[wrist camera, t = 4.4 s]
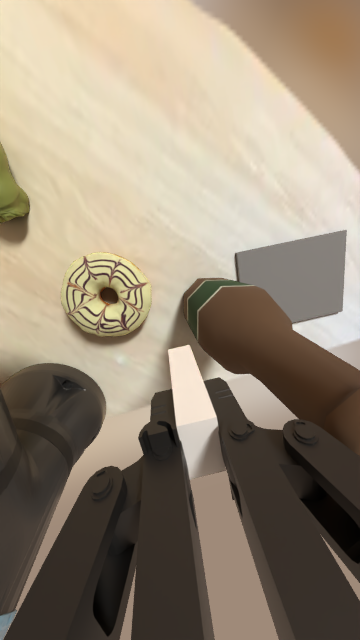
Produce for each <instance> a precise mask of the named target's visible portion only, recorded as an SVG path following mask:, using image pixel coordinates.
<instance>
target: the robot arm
mask: <svg viewBox="0 0 360 640" xmlns="http://www.w3.org/2000/svg"><path fill="white" fill-rule="evenodd" d="M168 354H169V363H170V373H171V382H172V389H170V390H166V391H162V392H157V393H155V395H154V397H153V398H152V400H151V417H150V422H149V423H148V424H146V425H145V426H144V427H143V429H142V430H141V432H140V434H139V437H138V438H139V442H140V445H141V447H142V451H143V454H144V455H143V456H142V457H141V458H140V459H139V460H138V461H137V462H135V463H134V464H132V465H131V466H129V467H127V468H126V469H124V470H122V471H121V470H120V469H119V468H118V467H114V466H109V467H104V468H102V469H101V470H99V471H97V472H96V473H95V474H94V475H93V476H91V477H90V478H89V480H88V481H87V483H86V484H85V486H84V487H83V489H82V491H81V493H80V495H79V497H78V499H77V501H76V502H75V504H74V506H73V508H72V510H71V512H70V514H69V516H68V518H67V520H66V521H65V523H64V525H63V527H62V529H61V531H60V533H59V535H58V537H57V539H56V540H55V542H54V544H53V546H52V548H51V550H50V552H49V554H48V556H47V558H46V559H45V561H44V563H43V565H42V567H41V569H40V571H39V573H38V575H37V577H36V579H35V580H34V582H33V584H32V586H31V588H30V590H29V592H28V594H27V596H26V598H25V599H24V602H23V603H22V605H21V607H20V609H19V611H18V613H17V615H16V617H15V619H14V620H13V618H14V616H15V614H16V612H17V610H16V609H15V608H16V606H17V603H18V601H19V598H20V596H21V593H22V591H23V588H24V586H25V583H26V581H27V579H28V576H29V573H30V571H31V568H32V566H33V564H34V561H35V559H36V556H37V554H38V551H39V549H40V546H41V544H42V541H43V539H44V536H45V534H46V531H47V529H48V526H49V524H50V521H51V519H52V517H53V514H54V511H55V509H56V506H57V504H58V502H59V499H60V497H61V494H62V492H63V489H64V486H65V484H66V482H67V479H68V477H69V474H70V472H71V469H72V467H73V465H74V464H75V463H76V462H77V460H78V459H79V458H80V456H81V455H82V454H83V452H84V450H85V449H86V448H87V447H88V446H89V445H90V444H91V443H92V442H93V440H94V439H95V438H96V436H97V435H98V433H99V431H100V429H101V427H102V424H103V421H104V418H105V414H106V401H105V397H104V395H103V392H102V391H101V389H100V387H99V386H98V385H97V383H96V382H95V381H94V380H93V379H92V378H90V377H89V376H88V375H87V374H85V373H83V372H82V371H80V370H78V369H75V368H73V367H70V366H66V365H62V364H53V363H45V364H37V365H33V366H30V367H27V368H24V369H22V370H20V371H19V372H17V373H16V374H14V375H13V376H12V377H11V378H9V379H8V380H7V381H5V382H4V383H3V384H2V385H1V386H0V640H119V639H120V635H121V630H122V626H123V621H124V617H125V613H126V608H127V604H128V599H129V594H130V590H131V586H132V582H133V577H134V573H135V568H136V577H135V592H134V605H133V619H132V634H131V640H215V639H214V633H213V626H212V619H211V612H210V606H209V599H208V592H207V586H206V579H205V572H204V566H203V559H202V552H201V546H200V540H199V532H198V526H197V519H196V513H195V506H194V499H193V494H192V490H191V486H190V480H191V479H195V478H198V477H202V476H206V475H210V474H214V473H218V472H222V471H226V470H227V473H228V476H229V481H230V487H231V493H232V499H233V500H235V503H236V506H237V508H238V512H239V515H240V518H241V522H242V525H243V528H244V531H245V534H246V537H247V540H248V544H249V547H250V550H251V553H252V556H253V559H254V562H255V566H256V569H257V572H258V575H259V578H260V581H261V584H262V588H263V591H264V594H265V597H266V600H267V603H268V607H269V610H270V612H271V616H272V619H273V622H274V625H275V628H276V632H277V634H278V638H279V640H360V601H359V599H358V597H357V596H356V594H355V592H354V591H353V589H352V587H351V586H350V584H349V582H348V581H347V579H346V577H345V575H344V574H343V572H342V570H341V569H340V567H339V565H338V564H337V562H336V560H335V559H334V557H333V555H332V553H331V552H330V550H329V549H328V547H327V545H326V543H325V542H324V540H323V538H324V539H325V540H326V542H327V543H328V544H329V545H330V547H331V548H332V549H333V550H334V552H335V553H336V554H337V555H338V557H339V558H340V559H341V560H342V561H343V563H344V564H345V565H346V566H347V568H348V569H349V570H350V571H351V573H352V574H353V575H354V576H355V578H356V579H357V580H358V581H359V583H360V456H359V455H358V454H356V453H355V452H353V451H352V450H351V449H349V448H348V447H347V446H345V445H344V444H343V443H341V442H340V441H338V440H337V439H336V438H334V437H333V436H332V435H330V434H329V433H328V432H326V431H325V430H323V429H322V428H321V427H319V426H317V425H316V424H314V423H312V422H309V421H306V420H300V419H294V420H291V421H288V422H287V423H286V424H285V425H284V427H283V430H271V429H263V428H260V427H257V426H255V425H254V424H253V422H251V421H249V420H248V419H247V418H246V417H245V415H244V413H243V411H242V409H241V408H240V406H239V404H238V402H237V400H236V399H235V397H234V396H233V393H232V392H231V390H230V388H229V386H228V384H227V383H226V382H225V381H224V380H222V379H221V378H215V379H210V380H206V381H203V379H202V376H201V374H200V371H199V368H198V366H197V363H196V360H195V358H194V355H193V353H192V350H191V347H190V345H186V346H182V347H177V348H173V349H168ZM225 467H226V468H225ZM320 534H321V535H320ZM321 536H322V537H323V538H322V537H321ZM12 621H13V622H12ZM11 622H12V624H11V626H10V628H9V625H10V623H11ZM8 628H9V630H8ZM7 630H8V632H7ZM6 632H7V634H6ZM5 634H6V636H5ZM4 636H5V637H4ZM3 638H4V639H3Z"/></svg>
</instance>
